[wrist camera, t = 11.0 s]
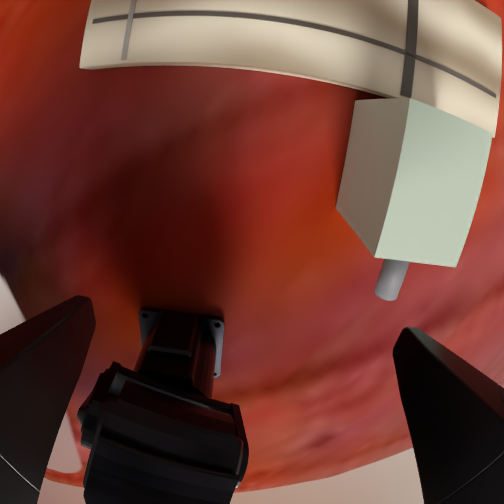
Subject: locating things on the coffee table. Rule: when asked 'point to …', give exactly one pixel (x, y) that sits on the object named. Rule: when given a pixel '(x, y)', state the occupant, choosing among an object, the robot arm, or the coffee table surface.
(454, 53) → the birch board
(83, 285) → the coffee table surface
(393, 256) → the block
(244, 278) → the coffee table surface
